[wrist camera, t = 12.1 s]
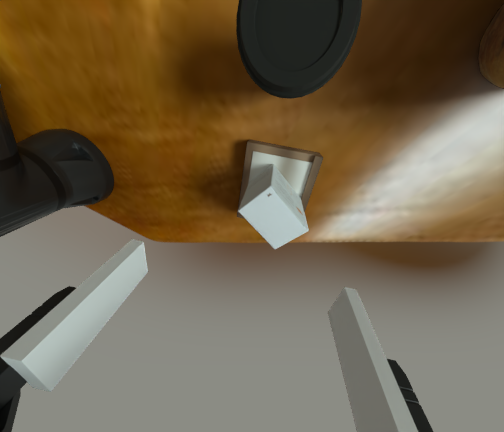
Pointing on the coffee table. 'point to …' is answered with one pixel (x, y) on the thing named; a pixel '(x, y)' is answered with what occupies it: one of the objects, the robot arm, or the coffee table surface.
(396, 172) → the coffee table surface
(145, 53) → the coffee table surface
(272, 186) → the small box
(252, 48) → the coffee cup
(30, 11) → the coffee table surface
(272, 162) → the tray
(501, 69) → the potted plant
